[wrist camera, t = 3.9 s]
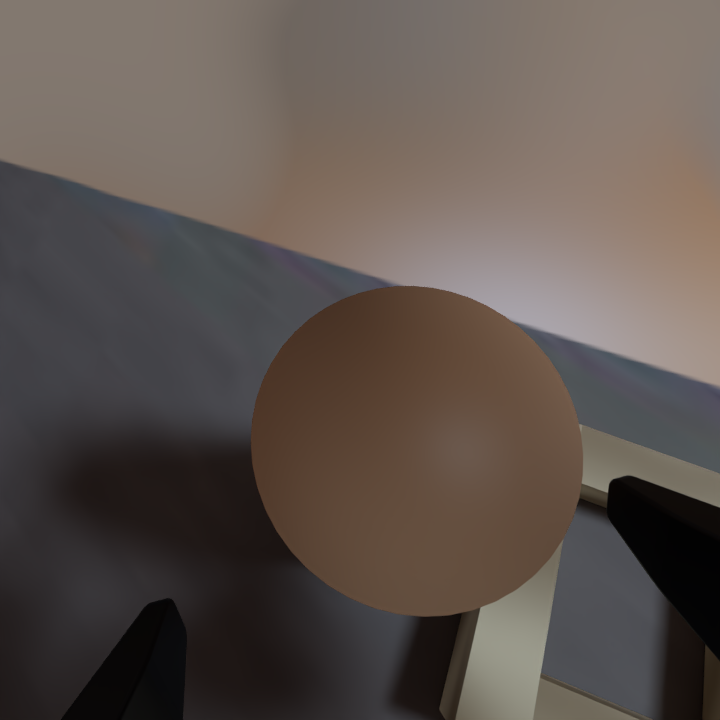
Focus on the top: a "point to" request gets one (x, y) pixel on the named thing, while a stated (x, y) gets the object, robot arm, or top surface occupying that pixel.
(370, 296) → the cherry wood peg
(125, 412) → the top surface
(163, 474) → the top surface
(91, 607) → the top surface
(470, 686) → the birch hole board
